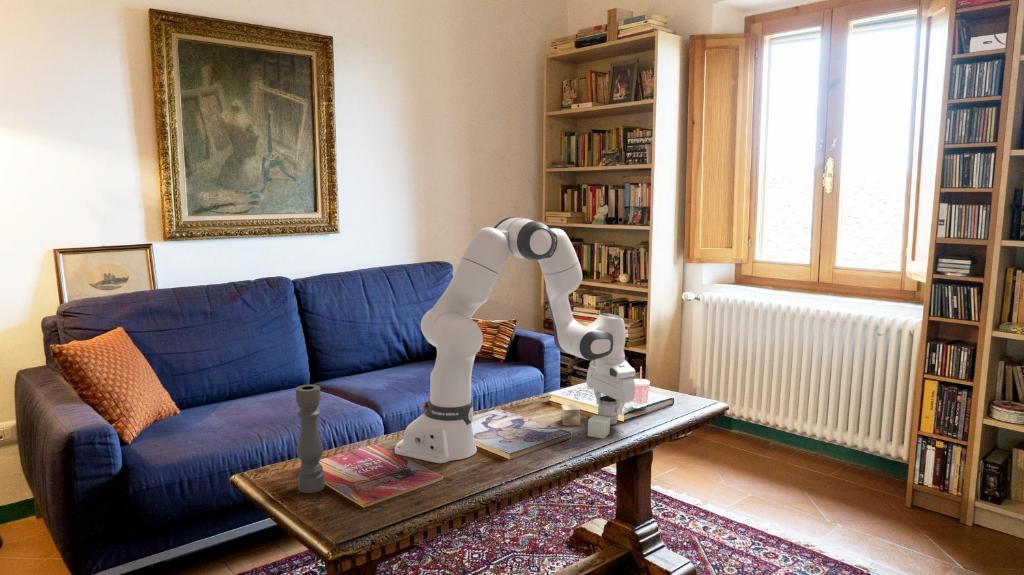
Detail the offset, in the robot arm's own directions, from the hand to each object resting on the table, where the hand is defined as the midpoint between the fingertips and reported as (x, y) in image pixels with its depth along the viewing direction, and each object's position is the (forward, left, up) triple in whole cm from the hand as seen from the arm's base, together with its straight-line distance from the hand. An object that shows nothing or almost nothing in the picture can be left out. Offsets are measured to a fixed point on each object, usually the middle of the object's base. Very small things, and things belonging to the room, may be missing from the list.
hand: (609, 408), depth 224 cm
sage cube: (-1, -12, -4) cm, 13 cm away
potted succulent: (0, 0, -4) cm, 4 cm away
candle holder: (-62, -69, -4) cm, 93 cm away
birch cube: (-11, -4, -4) cm, 13 cm away
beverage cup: (+8, +17, -4) cm, 19 cm away
